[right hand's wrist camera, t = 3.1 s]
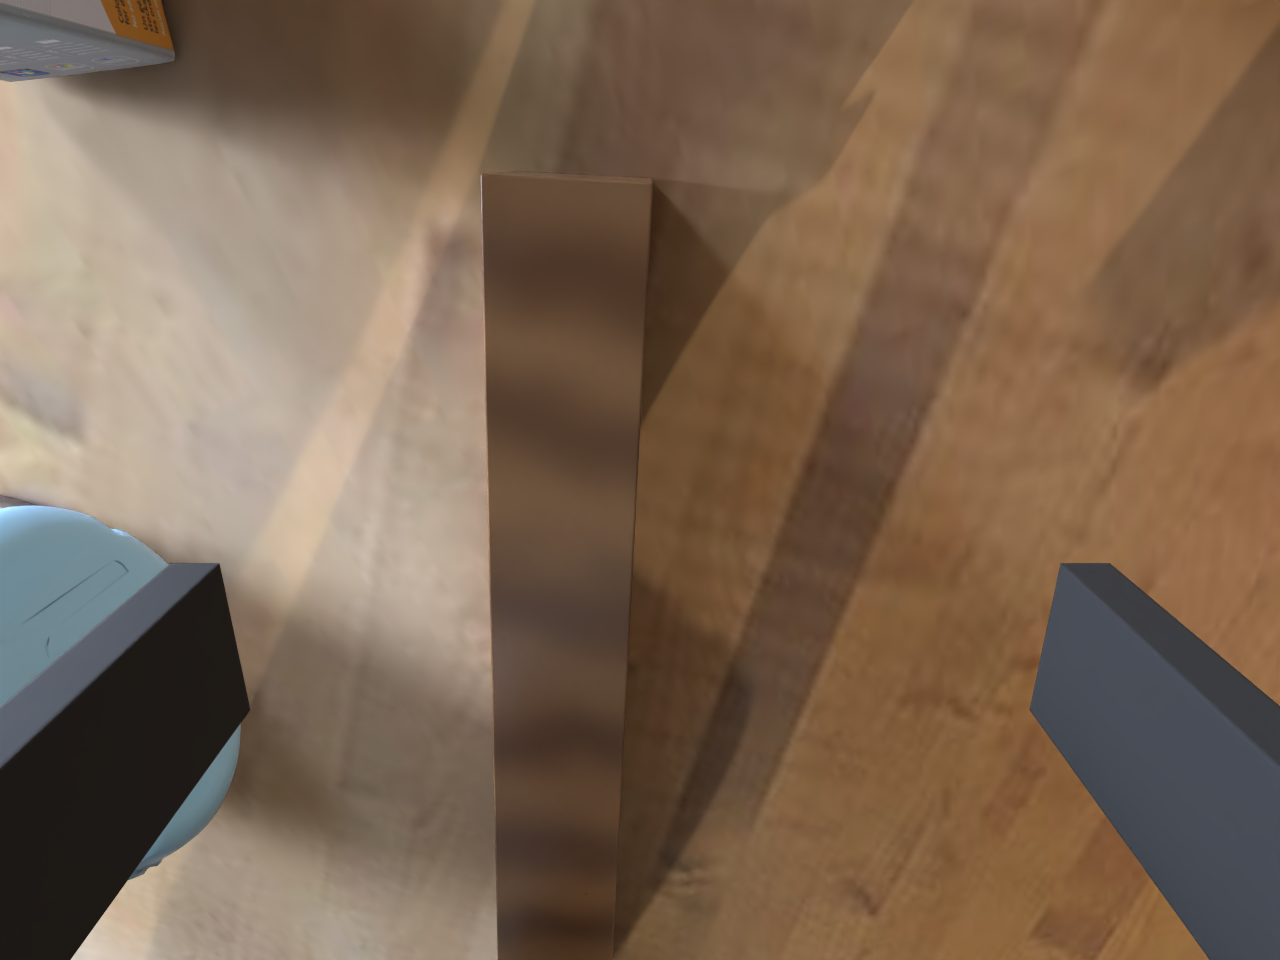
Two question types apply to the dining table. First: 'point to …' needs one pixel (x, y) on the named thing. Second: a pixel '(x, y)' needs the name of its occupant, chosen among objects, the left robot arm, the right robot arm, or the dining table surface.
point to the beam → (561, 540)
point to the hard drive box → (80, 37)
